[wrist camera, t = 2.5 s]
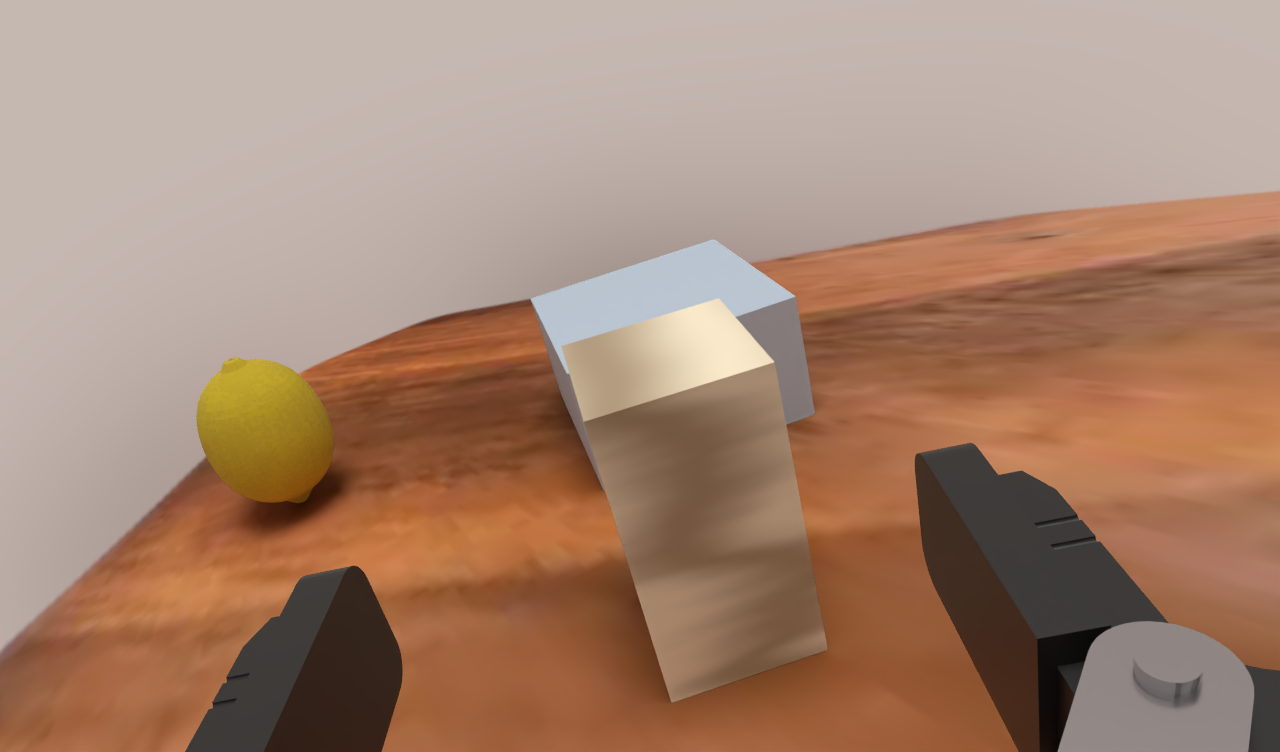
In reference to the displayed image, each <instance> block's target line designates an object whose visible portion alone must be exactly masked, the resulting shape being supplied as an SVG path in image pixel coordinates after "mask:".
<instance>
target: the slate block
mask: <svg viewBox="0 0 1280 752" xmlns="http://www.w3.org/2000/svg"><path fill="white" fill-rule="evenodd" d="M718 298H719V299H720V300H721V301H722V302H723V303H724V305H725V306H726V307H727V308H728V309H729V310H730V311H731V313H732V314H733V315H734V316H735V317H736V318H737V320H738V321H739V322H740V323H741V324H742V325H743V326H744V328H745V329H746V330H747V331H748V332H749V333H750V334H751V336H752V337H753V338H754V339H755V340H756V341H757V343H758V344H759V345H760V346H761V347H762V348H763V349H764V351H765V352H766V353H767V354H768V355H769V356H770V357H771V359H772V360H773V361H774V362H775V367H776V372H777V378H778V383H779V389H780V394H781V399H782V405H783V410H784V416H785V421H786V425H787V424H789V423H792V422H795V421H798V420H800V419H803V418H806V417H809V416H811V415H814V414H815V411H814V405H813V399H812V392H811V386H810V380H809V374H808V368H807V362H806V356H805V350H804V344H803V338H802V332H801V326H800V320H799V314H798V308H797V302H796V296H794V295H793V294H791V293H790V292H788V291H787V290H786V289H784V288H783V287H781V286H780V285H778V284H777V283H776V282H774V281H773V280H771V279H770V278H768V277H767V276H766V275H764V274H763V273H761V272H760V271H758V270H757V269H756V268H754V267H753V266H751V265H750V264H748V263H747V262H746V261H744V260H743V259H741V258H740V257H738V256H737V255H736V254H734V253H732V252H731V251H730V250H728V249H727V248H726V247H724V246H723V245H721V244H720V243H718V242H717V241H716V240H714V239H713V240H710V241H707V242H704V243H701V244H697V245H694V246H692V247H688V248H685V249H682V250H679V251H676V252H673V253H670V254H667V255H663V256H661V257H657V258H655V259H651V260H648V261H645V262H642V263H639V264H636V265H633V266H630V267H627V268H623V269H620V270H617V271H614V272H611V273H608V274H605V275H602V276H599V277H595V278H592V279H589V280H586V281H583V282H580V283H577V284H574V285H571V286H568V287H565V288H562V289H559V290H555V291H553V292H549V293H546V294H543V295H540V296H537V297H534V298H531V302H532V305H533V308H534V311H535V314H536V317H537V320H538V323H539V327H540V330H541V333H542V336H543V339H544V342H545V345H546V348H547V352H548V355H549V358H550V361H551V364H552V367H553V370H554V373H555V377H556V380H557V383H558V386H559V389H560V392H561V395H562V398H563V400H564V402H565V405H566V407H567V409H568V411H569V414H570V416H571V418H572V421H573V423H574V425H575V427H576V430H577V432H578V434H579V436H580V439H581V441H582V443H583V445H584V448H585V450H586V452H587V454H588V457H589V459H590V461H591V463H592V466H593V468H594V470H595V473H596V475H597V477H598V479H599V482H600V484H601V486H602V488H603V491H604V490H605V488H604V485H603V482H602V479H601V476H600V472H599V469H598V466H597V463H596V459H595V456H594V453H593V450H592V447H591V443H590V440H589V437H588V434H587V431H586V427H585V424H584V421H583V418H582V414H581V411H580V408H579V404H578V401H577V397H576V394H575V391H574V387H573V384H572V381H571V377H570V374H569V371H568V367H567V364H566V360H565V357H564V354H563V350H562V347H561V346H563V345H567V344H570V343H573V342H577V341H580V340H583V339H586V338H590V337H593V336H596V335H600V334H603V333H606V332H609V331H613V330H616V329H619V328H623V327H626V326H629V325H633V324H636V323H639V322H642V321H646V320H649V319H652V318H656V317H659V316H662V315H665V314H669V313H672V312H675V311H679V310H682V309H685V308H688V307H692V306H695V305H698V304H702V303H705V302H708V301H712V300H715V299H718Z"/></svg>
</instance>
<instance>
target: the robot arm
mask: <svg viewBox="0 0 1280 752" xmlns="http://www.w3.org/2000/svg"><path fill="white" fill-rule="evenodd" d="M915 474H916V485H917V495H918V505H919V516H920V526H921V537H922V546H923V551H924V556H925V560H926V564H927V567H928V571H929V574H930V577H931V579H932V582H933V584H934V587H935V589H936V591H937V593H938V595H939V597H940V599H941V601H942V603H943V605H944V607H945V608H946V610H947V612H948V614H949V616H950V618H951V620H952V622H953V624H954V626H955V628H956V630H957V632H958V634H959V636H960V638H961V640H962V642H963V644H964V646H965V647H966V649H967V651H968V653H969V655H970V657H971V659H972V661H973V663H974V665H975V667H976V669H977V671H978V673H979V675H980V677H981V679H982V681H983V683H984V685H985V686H986V688H987V690H988V692H989V694H990V696H991V698H992V700H993V702H994V704H995V706H996V708H997V710H998V712H999V714H1000V716H1001V718H1002V720H1003V722H1004V724H1005V725H1006V727H1007V729H1008V731H1009V733H1010V735H1011V737H1012V739H1013V741H1014V743H1015V745H1016V747H1017V749H1018V751H1019V752H1280V671H1278V670H1269V669H1261V668H1256V667H1252V666H1247V665H1244V664H1243V663H1242V662H1241V661H1240V660H1239V658H1238V657H1237V656H1236V655H1235V654H1233V653H1232V652H1231V651H1230V650H1229V649H1228V648H1226V647H1225V646H1223V645H1222V644H1220V643H1219V642H1218V641H1216V640H1214V639H1212V638H1210V637H1208V636H1207V635H1205V634H1202V633H1200V632H1197V631H1195V630H1192V629H1190V628H1186V627H1183V626H1179V625H1175V624H1170V623H1168V622H1167V621H1166V619H1165V618H1164V617H1163V616H1162V615H1161V613H1160V612H1159V611H1158V610H1157V609H1156V607H1155V606H1154V605H1153V604H1152V603H1151V602H1150V600H1149V599H1148V598H1147V597H1146V596H1145V594H1144V593H1143V592H1142V591H1141V590H1140V589H1139V587H1138V586H1137V585H1136V584H1135V583H1134V581H1133V580H1132V579H1131V578H1130V577H1129V575H1128V574H1127V573H1126V572H1125V571H1124V570H1123V568H1122V567H1121V566H1120V565H1119V564H1118V562H1117V561H1116V560H1115V559H1114V558H1113V556H1112V555H1111V554H1110V553H1109V552H1108V551H1107V549H1106V548H1105V547H1104V546H1103V545H1102V543H1101V542H1097V541H1096V538H1095V535H1094V534H1093V533H1092V532H1091V530H1090V529H1089V528H1088V527H1087V526H1086V524H1085V523H1084V522H1083V521H1082V520H1079V519H1078V516H1077V514H1076V513H1075V511H1074V510H1073V509H1072V508H1071V507H1070V505H1069V504H1068V503H1067V502H1066V501H1065V500H1064V498H1063V497H1062V496H1061V495H1060V494H1059V492H1058V491H1057V490H1056V489H1054V488H1053V487H1051V486H1049V485H1047V484H1045V483H1043V482H1042V481H1040V480H1038V479H1036V478H1034V477H1032V476H1031V475H1029V474H1027V473H1025V472H1023V471H1017V472H1012V473H1007V474H1002V475H998V474H997V473H996V472H995V470H994V469H993V468H992V466H991V465H990V464H989V462H988V461H987V460H986V458H985V457H984V456H983V454H982V453H981V452H980V450H979V449H978V448H977V447H976V446H975V445H974V444H973V443H967V444H962V445H957V446H952V447H947V448H942V449H937V450H932V451H928V452H923V453H918V454H916V457H915ZM226 678H227V683H224V684H222V686H221V688H220V690H219V692H218V693H217V695H216V697H215V699H214V701H213V702H212V703H213V709H209V710H208V712H207V713H206V715H205V717H204V719H203V721H202V722H201V724H200V726H199V728H198V730H197V731H196V733H195V735H194V737H193V739H192V740H191V742H190V744H189V746H188V748H187V749H186V751H185V752H381V751H382V748H383V745H384V741H385V738H386V735H387V731H388V728H389V725H390V722H391V718H392V715H393V712H394V708H395V705H396V702H397V698H398V695H399V692H400V688H401V683H402V659H401V653H400V649H399V646H398V643H397V641H396V639H395V636H394V634H393V632H392V630H391V628H390V626H389V624H388V621H387V619H386V617H385V615H384V613H383V611H382V609H381V607H380V604H379V602H378V600H377V598H376V596H375V594H374V592H373V589H372V587H371V585H370V583H369V581H368V579H367V577H366V575H365V573H364V572H363V571H362V570H361V569H360V568H359V567H357V566H350V567H345V568H340V569H335V570H330V571H325V572H320V573H316V574H311V575H306V576H303V577H302V578H301V579H300V580H299V581H298V583H297V584H296V586H295V588H294V590H293V592H292V594H291V596H290V598H289V600H288V601H287V603H286V605H285V607H284V609H283V611H282V613H281V615H280V616H278V617H273V618H271V619H270V620H269V621H268V622H267V623H266V624H265V625H264V626H263V627H262V628H261V629H260V630H259V631H258V632H257V633H256V634H255V635H254V636H253V637H252V638H251V639H250V641H249V642H248V643H247V644H246V645H245V646H244V647H243V648H242V650H241V652H240V654H239V655H238V657H237V659H236V661H235V663H234V665H233V666H232V668H231V670H230V672H229V674H228V675H227V677H226Z"/></svg>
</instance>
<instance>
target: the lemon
mask: <svg viewBox="0 0 1280 752" xmlns="http://www.w3.org/2000/svg"><path fill="white" fill-rule="evenodd" d="M197 427H198V433H199V437H200V441H201V444H202V447H203V449H204V452H205V454H206V457H207V459H208V460H209V462H210V464H211V465H212V467H213V468H214V470H215V471H216V472H217V474H218V475H219V476H220V478H221V479H222V480H223V481H224V482H225V483H226V484H227V485H228V486H229V487H230V488H231V489H233V490H234V491H235V492H237V493H239V494H240V495H242V496H245V497H247V498H250V499H252V500H255V501H260V502H269V503H276V502H283V501H289V502H293V503H302V502H304V501H306V500H307V499H308V497H309V495H310V493H311V490H312V488H313V487H314V486H315V485H317V484H318V483H319V481H320V480H321V479H322V478H323V477H324V475H325V474H326V472H327V470H328V468H329V466H330V463H331V460H332V457H333V448H334V436H333V430H332V426H331V422H330V419H329V416H328V414H327V412H326V410H325V408H324V406H323V404H322V403H321V401H320V399H319V398H318V396H317V395H316V393H315V392H314V391H313V389H312V388H311V387H310V386H309V384H308V383H307V382H306V381H305V380H304V379H303V378H302V377H301V376H300V375H299V374H297V373H296V372H295V371H293V370H292V369H290V368H288V367H286V366H284V365H281V364H279V363H276V362H271V361H267V360H242V359H240V358H238V357H235V358H231V359H229V360H227V361H225V362H224V363H223V366H222V369H221V371H220V372H218V373H217V374H216V375H215V376H214V377H213V378H212V379H211V380H210V382H209V383H208V384H207V386H206V387H205V389H204V390H203V392H202V394H201V396H200V400H199V402H198V409H197Z"/></svg>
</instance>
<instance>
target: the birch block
mask: <svg viewBox="0 0 1280 752" xmlns="http://www.w3.org/2000/svg"><path fill="white" fill-rule="evenodd" d="M561 347H562V350H563V354H564V357H565V360H566V364H567V367H568V371H569V374H570V377H571V381H572V384H573V387H574V391H575V394H576V397H577V401H578V404H579V408H580V411H581V414H582V418H583V421H584V424H585V427H586V431H587V434H588V437H589V440H590V443H591V447H592V450H593V453H594V456H595V459H596V463H597V466H598V469H599V472H600V476H601V479H602V482H603V485H604V488H605V492H606V495H607V498H608V501H609V504H610V508H611V511H612V514H613V517H614V520H615V524H616V527H617V530H618V533H619V536H620V540H621V543H622V546H623V549H624V552H625V556H626V559H627V562H628V565H629V568H630V572H631V575H632V578H633V581H634V584H635V588H636V591H637V594H638V597H639V601H640V604H641V607H642V610H643V613H644V617H645V620H646V623H647V626H648V629H649V633H650V636H651V639H652V642H653V645H654V649H655V652H656V655H657V658H658V661H659V665H660V668H661V671H662V674H663V677H664V681H665V684H666V687H667V690H668V693H669V697H670V700H671V703H673V702H676V701H679V700H682V699H685V698H688V697H691V696H693V695H696V694H699V693H702V692H705V691H708V690H711V689H714V688H717V687H720V686H723V685H726V684H729V683H732V682H735V681H737V680H740V679H743V678H746V677H749V676H752V675H755V674H758V673H761V672H764V671H767V670H770V669H773V668H776V667H779V666H782V665H784V664H787V663H790V662H793V661H796V660H799V659H802V658H805V657H808V656H811V655H814V654H817V653H820V652H823V651H826V650H828V648H827V643H826V637H825V632H824V626H823V621H822V615H821V610H820V605H819V599H818V594H817V588H816V583H815V578H814V572H813V567H812V561H811V556H810V551H809V545H808V540H807V534H806V529H805V524H804V518H803V513H802V507H801V502H800V497H799V491H798V486H797V480H796V475H795V470H794V464H793V459H792V453H791V448H790V443H789V437H788V432H787V426H786V421H785V416H784V410H783V405H782V399H781V394H780V389H779V383H778V378H777V372H776V367H775V362H774V361H773V360H772V359H771V357H770V356H769V355H768V354H767V353H766V352H765V351H764V349H763V348H762V347H761V346H760V345H759V344H758V343H757V341H756V340H755V339H754V338H753V337H752V336H751V334H750V333H749V332H748V331H747V330H746V329H745V328H744V326H743V325H742V324H741V323H740V322H739V321H738V320H737V318H736V317H735V316H734V315H733V314H732V313H731V311H730V310H729V309H728V308H727V307H726V306H725V305H724V303H723V302H722V301H721V300H720V299H719V298H718V299H715V300H712V301H708V302H705V303H702V304H698V305H695V306H692V307H688V308H685V309H682V310H679V311H675V312H672V313H669V314H665V315H662V316H659V317H656V318H652V319H649V320H646V321H642V322H639V323H636V324H633V325H629V326H626V327H623V328H619V329H616V330H613V331H609V332H606V333H603V334H600V335H596V336H593V337H590V338H586V339H583V340H580V341H577V342H573V343H570V344H567V345H563V346H561Z"/></svg>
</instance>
